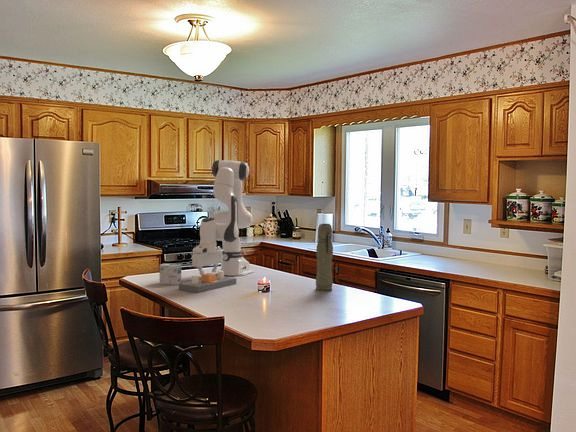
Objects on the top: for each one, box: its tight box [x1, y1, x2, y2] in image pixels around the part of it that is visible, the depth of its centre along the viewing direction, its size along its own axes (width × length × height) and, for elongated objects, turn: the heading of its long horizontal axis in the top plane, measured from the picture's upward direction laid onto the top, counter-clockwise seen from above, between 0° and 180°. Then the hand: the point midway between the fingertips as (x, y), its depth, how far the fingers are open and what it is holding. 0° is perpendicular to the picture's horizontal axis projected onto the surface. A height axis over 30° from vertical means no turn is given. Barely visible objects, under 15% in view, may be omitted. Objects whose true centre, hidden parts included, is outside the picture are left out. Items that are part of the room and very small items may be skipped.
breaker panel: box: [178, 275, 237, 293], centre depth 283 cm, size 30×14×3 cm, turn 145°
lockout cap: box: [200, 272, 217, 282], centre depth 283 cm, size 5×5×4 cm
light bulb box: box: [159, 263, 182, 286], centre depth 290 cm, size 11×7×11 cm, turn 84°
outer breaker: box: [191, 275, 199, 284], centre depth 275 cm, size 2×2×4 cm
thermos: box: [315, 223, 334, 292], centre depth 279 cm, size 9×12×35 cm
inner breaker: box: [217, 270, 225, 279], centre depth 291 cm, size 2×2×4 cm
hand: (208, 273), depth 283 cm, fingers open, 8 cm apart
